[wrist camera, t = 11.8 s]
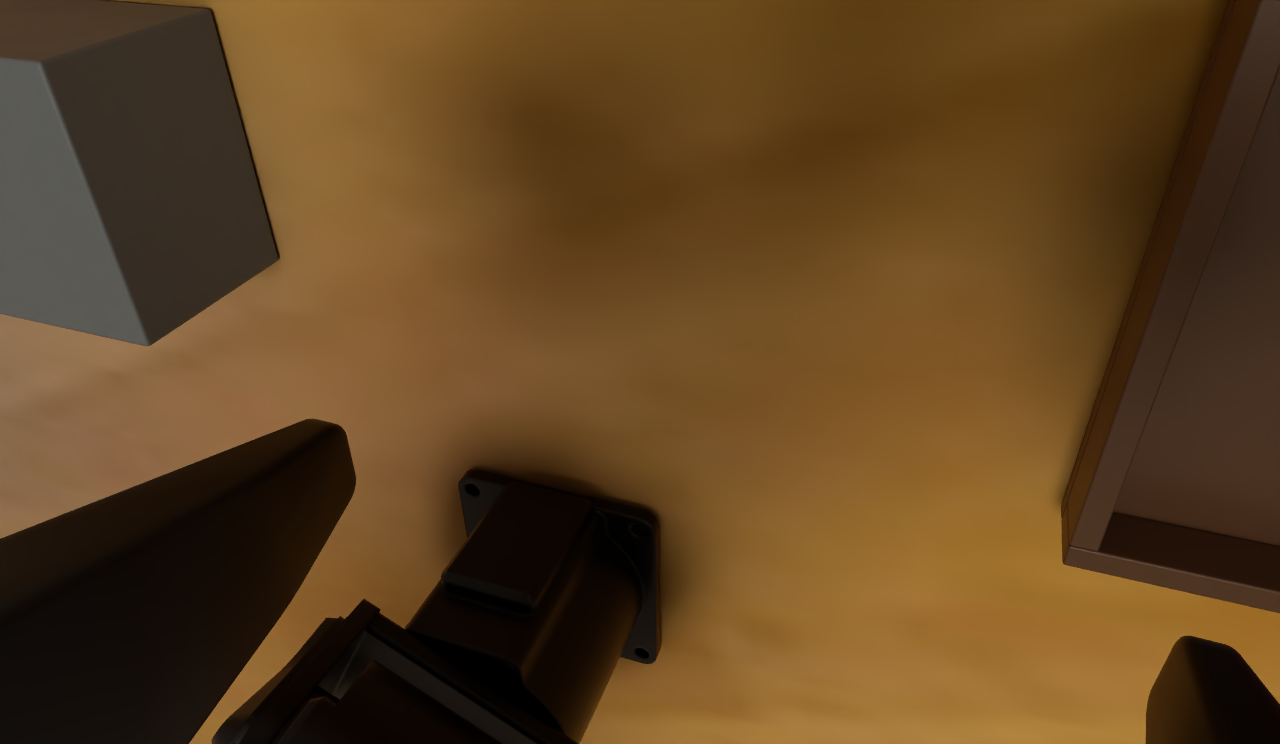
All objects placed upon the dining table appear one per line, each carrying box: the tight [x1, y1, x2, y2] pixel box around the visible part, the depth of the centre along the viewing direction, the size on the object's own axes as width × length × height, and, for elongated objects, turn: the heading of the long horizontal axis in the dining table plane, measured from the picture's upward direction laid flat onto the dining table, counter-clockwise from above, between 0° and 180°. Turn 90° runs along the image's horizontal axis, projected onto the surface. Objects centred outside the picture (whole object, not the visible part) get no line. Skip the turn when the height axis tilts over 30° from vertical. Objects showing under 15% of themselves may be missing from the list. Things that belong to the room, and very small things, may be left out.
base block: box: [0, 0, 278, 346], centre depth 23 cm, size 7×7×5 cm
